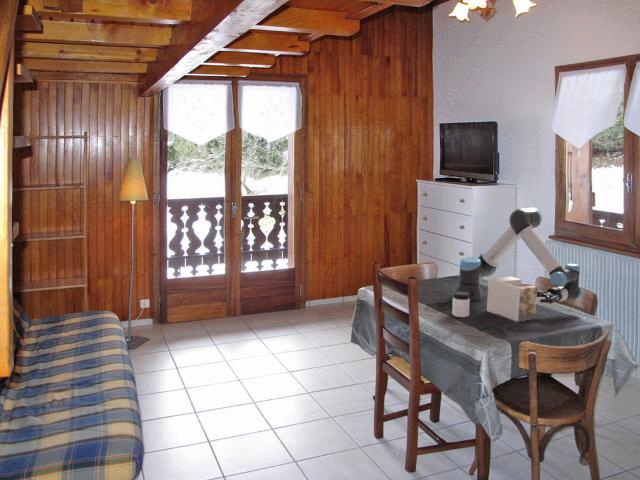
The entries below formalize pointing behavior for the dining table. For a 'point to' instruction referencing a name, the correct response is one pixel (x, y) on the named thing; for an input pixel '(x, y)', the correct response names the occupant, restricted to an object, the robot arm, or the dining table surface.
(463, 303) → the jar
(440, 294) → the dining table surface
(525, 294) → the tan patterned box
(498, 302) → the cabinet
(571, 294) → the robot arm
